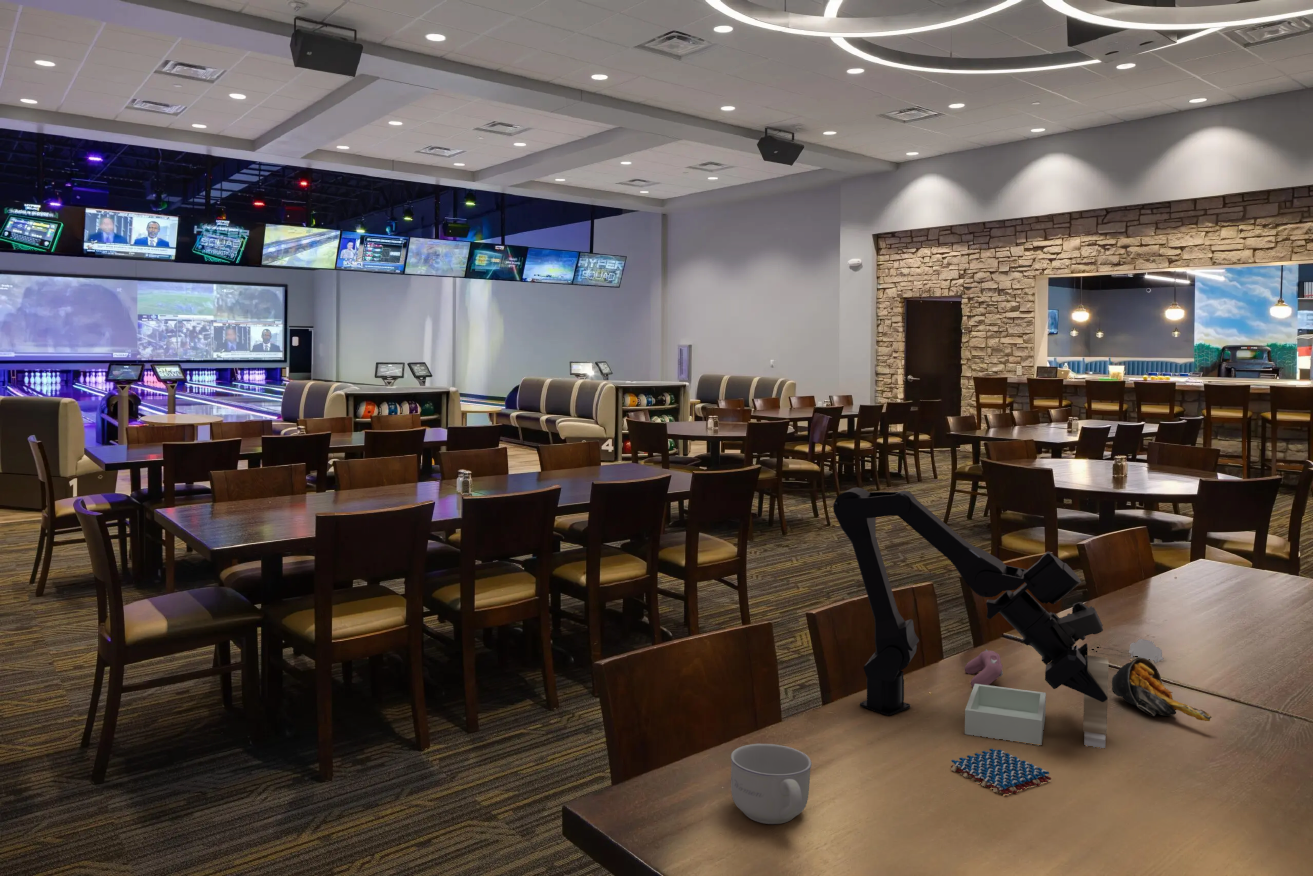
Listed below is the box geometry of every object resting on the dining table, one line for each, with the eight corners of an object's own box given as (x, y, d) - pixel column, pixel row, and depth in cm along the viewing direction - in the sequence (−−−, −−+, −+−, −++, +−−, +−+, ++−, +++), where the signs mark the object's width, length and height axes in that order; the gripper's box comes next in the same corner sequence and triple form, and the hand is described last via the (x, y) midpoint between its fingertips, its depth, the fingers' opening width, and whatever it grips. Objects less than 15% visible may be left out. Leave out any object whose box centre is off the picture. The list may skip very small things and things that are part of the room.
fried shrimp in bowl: (1134, 666, 168) (1230, 661, 153) (1134, 727, 164) (1233, 728, 149) (1098, 653, 165) (1193, 647, 150) (1098, 715, 161) (1195, 715, 145)
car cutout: (1169, 661, 186) (1170, 640, 186) (1157, 668, 182) (1158, 646, 182) (1094, 645, 197) (1095, 625, 197) (1081, 652, 193) (1081, 631, 193)
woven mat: (1004, 802, 127) (1004, 788, 127) (947, 773, 137) (947, 760, 136) (1055, 785, 132) (1055, 771, 132) (997, 758, 141) (997, 745, 141)
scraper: (1106, 749, 143) (1108, 668, 142) (1082, 745, 145) (1084, 665, 144) (1106, 731, 150) (1107, 653, 149) (1083, 727, 152) (1085, 651, 151)
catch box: (1041, 746, 145) (1041, 720, 144) (964, 734, 150) (965, 709, 149) (1045, 716, 157) (1045, 692, 156) (974, 706, 162) (974, 683, 161)
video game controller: (991, 698, 170) (1010, 666, 169) (969, 686, 170) (987, 654, 169) (983, 680, 179) (1000, 650, 178) (962, 669, 180) (979, 639, 179)
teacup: (725, 797, 129) (724, 742, 128) (800, 793, 130) (800, 738, 129) (742, 848, 115) (742, 787, 114) (827, 844, 116) (827, 783, 115)
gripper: (1070, 604, 139) (1150, 685, 135) (1071, 578, 156) (1143, 649, 152) (1013, 649, 143) (1090, 728, 139) (1021, 618, 160) (1089, 689, 156)
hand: (1105, 696), depth 146 cm, fingers closed on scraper, 3 cm apart
